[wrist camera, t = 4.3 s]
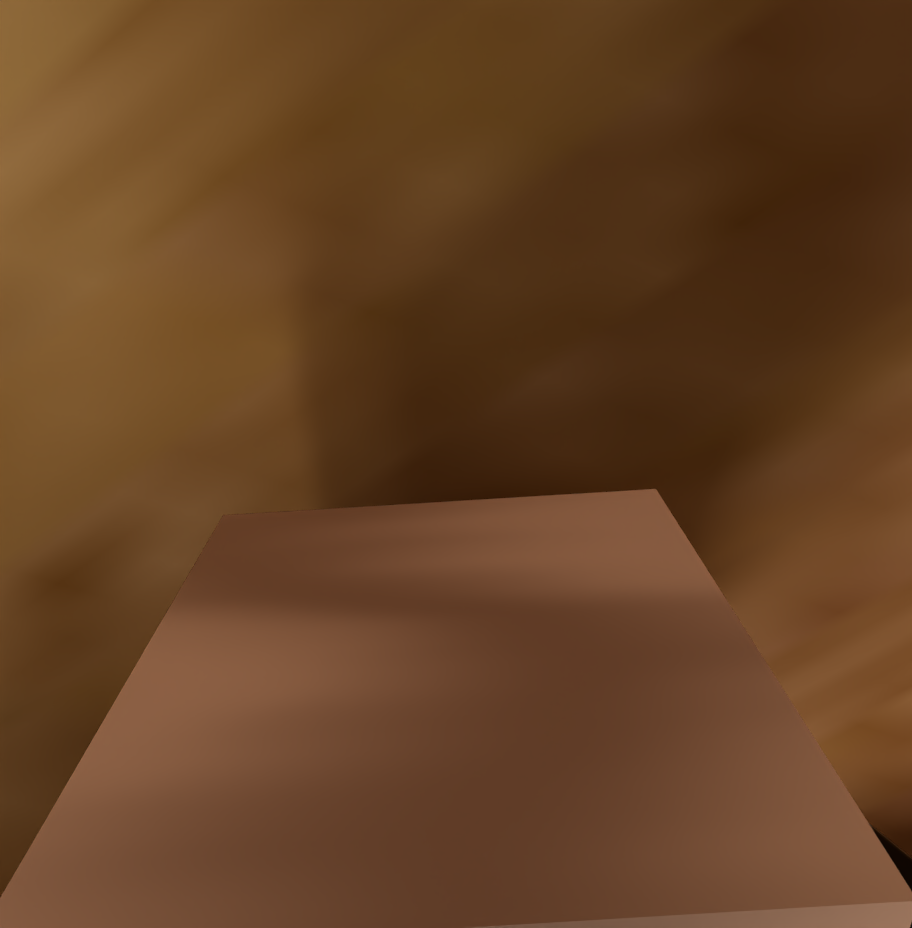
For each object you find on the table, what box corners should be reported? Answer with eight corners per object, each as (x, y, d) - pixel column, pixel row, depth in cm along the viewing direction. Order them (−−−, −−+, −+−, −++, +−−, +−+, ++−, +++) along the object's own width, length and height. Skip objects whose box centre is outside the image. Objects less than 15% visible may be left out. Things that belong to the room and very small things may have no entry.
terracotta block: (287, 825, 10) (169, 1360, 6) (223, 515, 8) (-35, 959, 4) (636, 804, 10) (793, 1322, 6) (656, 489, 8) (915, 898, 4)
